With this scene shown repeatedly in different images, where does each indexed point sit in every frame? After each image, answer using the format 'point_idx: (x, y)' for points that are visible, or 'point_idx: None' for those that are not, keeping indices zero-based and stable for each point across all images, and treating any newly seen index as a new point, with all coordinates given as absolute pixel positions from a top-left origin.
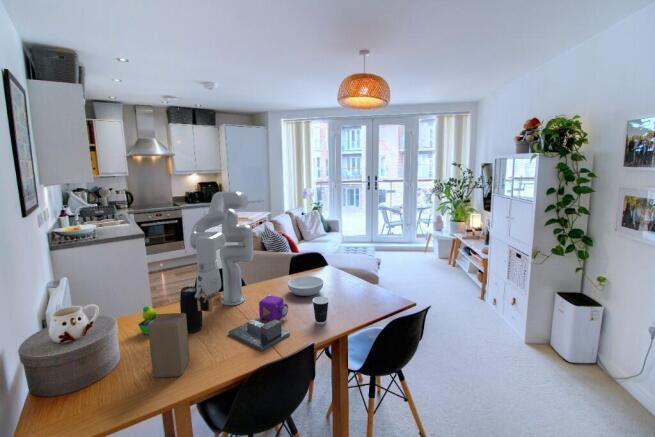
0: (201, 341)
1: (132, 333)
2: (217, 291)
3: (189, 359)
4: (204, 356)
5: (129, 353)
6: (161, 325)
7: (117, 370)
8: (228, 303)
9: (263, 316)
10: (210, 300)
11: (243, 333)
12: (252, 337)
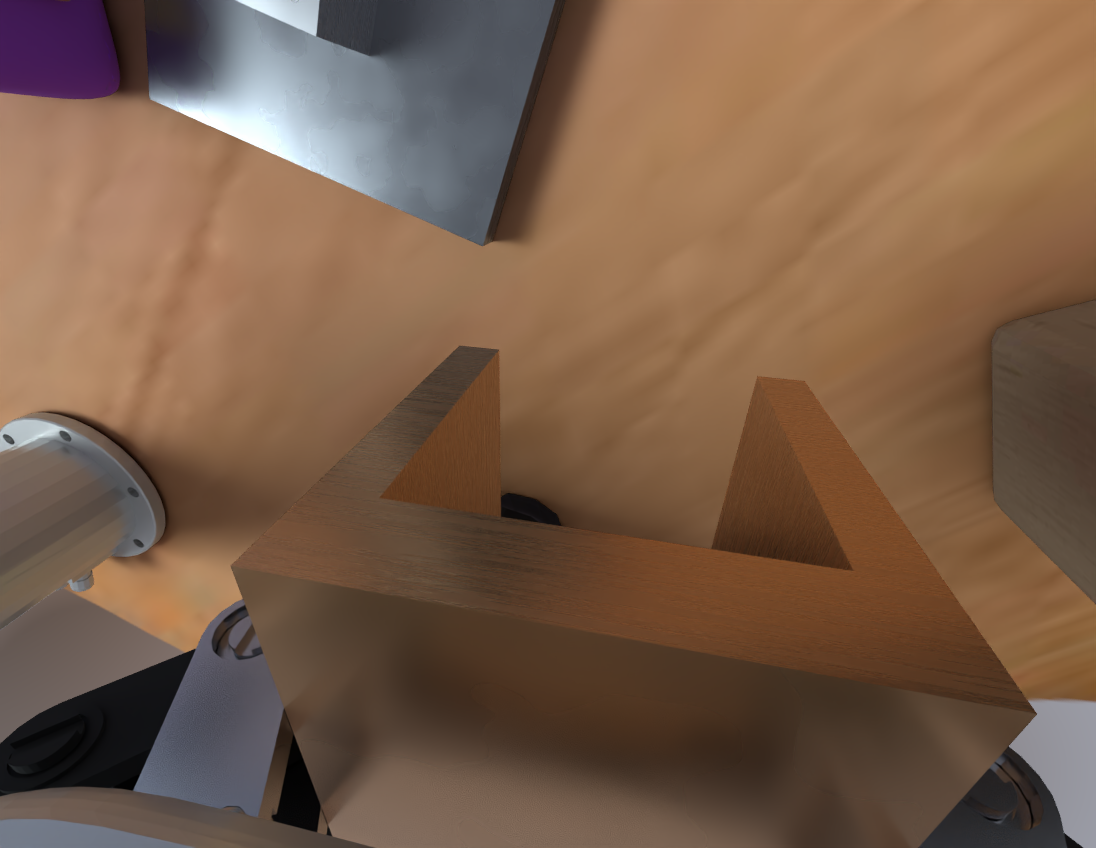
0: (651, 404)
1: None
2: (235, 722)
3: (1036, 319)
4: (900, 238)
5: None
6: None
7: (1058, 688)
8: (139, 493)
9: (79, 14)
10: (947, 655)
11: (465, 39)
12: None
